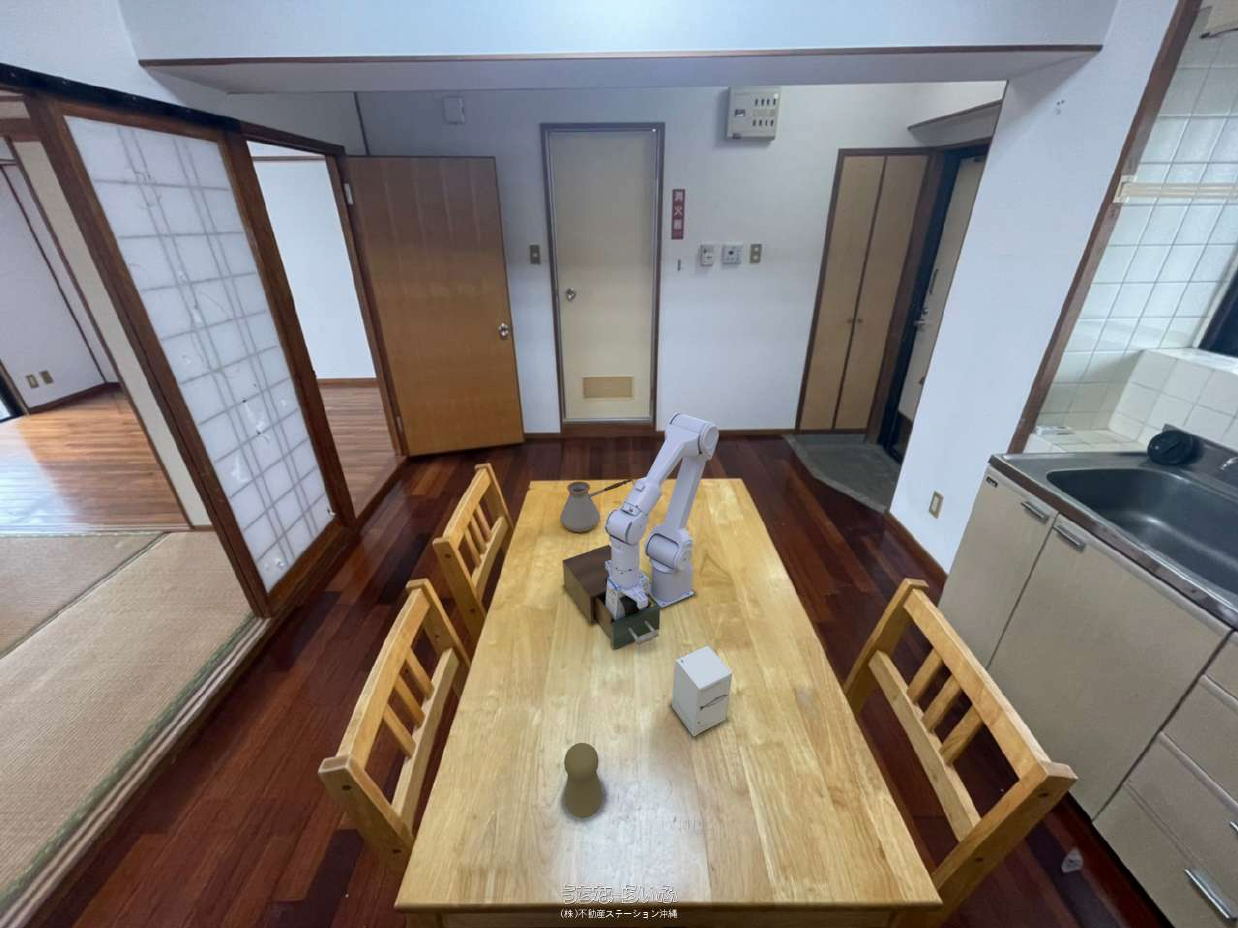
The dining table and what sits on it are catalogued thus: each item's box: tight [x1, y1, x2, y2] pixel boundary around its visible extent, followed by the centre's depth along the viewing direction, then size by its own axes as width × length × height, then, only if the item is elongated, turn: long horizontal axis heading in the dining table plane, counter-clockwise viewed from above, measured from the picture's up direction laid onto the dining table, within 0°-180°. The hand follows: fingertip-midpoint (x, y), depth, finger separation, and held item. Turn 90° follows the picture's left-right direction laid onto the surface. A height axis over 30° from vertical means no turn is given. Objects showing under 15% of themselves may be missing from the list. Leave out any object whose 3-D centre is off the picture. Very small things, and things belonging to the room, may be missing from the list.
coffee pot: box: [559, 478, 635, 534], centre depth 147 cm, size 21×12×15 cm, turn 92°
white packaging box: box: [671, 644, 733, 737], centre depth 92 cm, size 7×7×13 cm
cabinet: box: [562, 544, 612, 625], centre depth 122 cm, size 15×13×8 cm
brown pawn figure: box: [563, 742, 604, 819], centre depth 80 cm, size 6×6×11 cm
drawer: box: [593, 594, 661, 650], centre depth 112 cm, size 18×11×6 cm, turn 29°
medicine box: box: [605, 568, 650, 621], centre depth 110 cm, size 8×4×9 cm, turn 121°
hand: (625, 612), depth 112 cm, fingers closed on medicine box, 4 cm apart
